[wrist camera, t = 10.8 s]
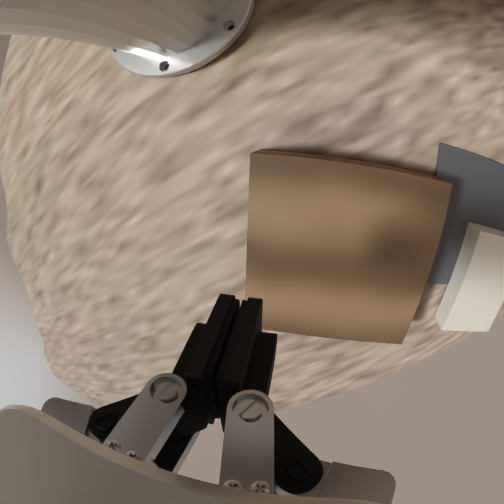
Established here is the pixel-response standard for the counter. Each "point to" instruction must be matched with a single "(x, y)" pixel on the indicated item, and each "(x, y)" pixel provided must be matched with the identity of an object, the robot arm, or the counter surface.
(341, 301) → the brown square plate
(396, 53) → the counter surface
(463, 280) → the white rectangular block
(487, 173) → the mat
